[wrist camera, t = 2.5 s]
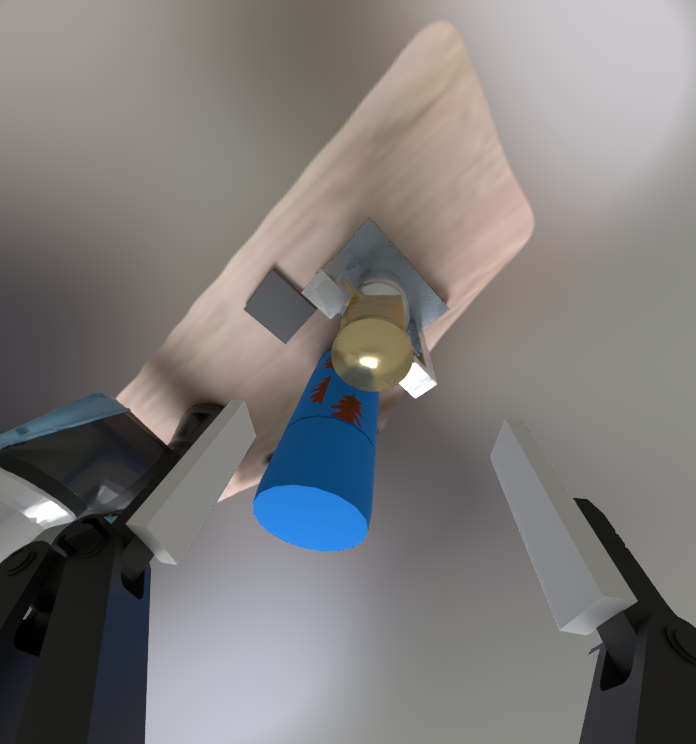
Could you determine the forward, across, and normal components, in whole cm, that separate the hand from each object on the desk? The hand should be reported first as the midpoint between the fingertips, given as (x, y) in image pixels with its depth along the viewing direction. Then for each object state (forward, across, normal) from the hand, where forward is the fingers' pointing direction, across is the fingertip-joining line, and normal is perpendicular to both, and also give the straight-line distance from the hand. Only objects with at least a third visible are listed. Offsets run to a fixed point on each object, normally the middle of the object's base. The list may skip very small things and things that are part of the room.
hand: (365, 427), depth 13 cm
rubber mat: (+27, -15, -2) cm, 31 cm away
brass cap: (+17, 0, 0) cm, 17 cm away
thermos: (+27, -5, -14) cm, 31 cm away
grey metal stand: (+27, 0, 0) cm, 27 cm away
